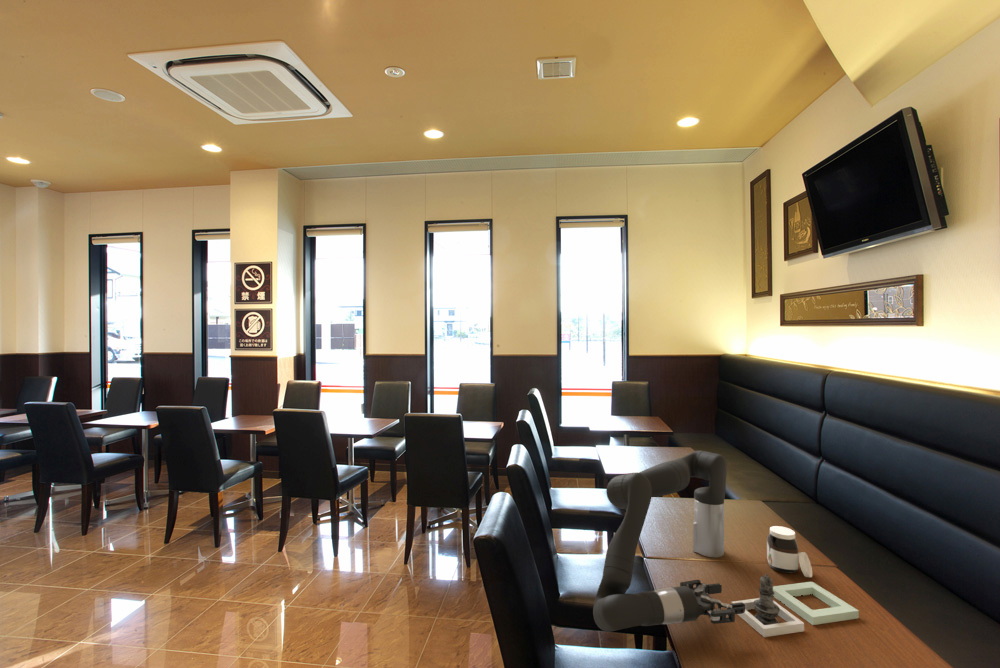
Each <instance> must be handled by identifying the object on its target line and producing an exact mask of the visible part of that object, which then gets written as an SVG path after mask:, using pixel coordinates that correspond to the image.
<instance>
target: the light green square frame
mask: <svg viewBox="0 0 1000 668" xmlns="http://www.w3.org/2000/svg"><path fill="white" fill-rule="evenodd" d="M773 591H774V593H775V594H774V595H773V596H774V597H773V598H775V599H776V600H777V601H779V602H780V601H781V602H780V603H781V604H783V605H784V604H785V605H784V606H786V607H787V608H788V609H790V610H791V611H793V612H794V613H795V614H797V615H798V616H799V617H800V618H802V619H803V620H805V621H806V622H807V623H809V624H811V625H812V626H816V625H822V624H829V623H836V622H842V621H850V620H855V619H856V620H857V619H859V618H860V614H859V612H860V610H859V609H857V608H855V607H854V606H852V605H850V603H847V601H846V602H845V601H844V600H843V599H841V598H839V597H838V596H836V595H835V594H833V593H832V592H830V591H828V590H826V589H825V588H823V587H821V586H820V585H819V584H817V583H816V582H813V581H805V582H797V583H791V584H783V585H782V584H781V585H773ZM810 594H811V595H812V594H813V597H816V598H817V599H819V600H820V601H822V602H823V603H825V604H827V606H829V607H825V608H819V609H811V607H809V606H807V605H806V604H805V603H803V602H801V601H800V600H799V599H797V598H796V597H801V595H803V596H809V595H810ZM793 596H795V597H793Z"/></svg>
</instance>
